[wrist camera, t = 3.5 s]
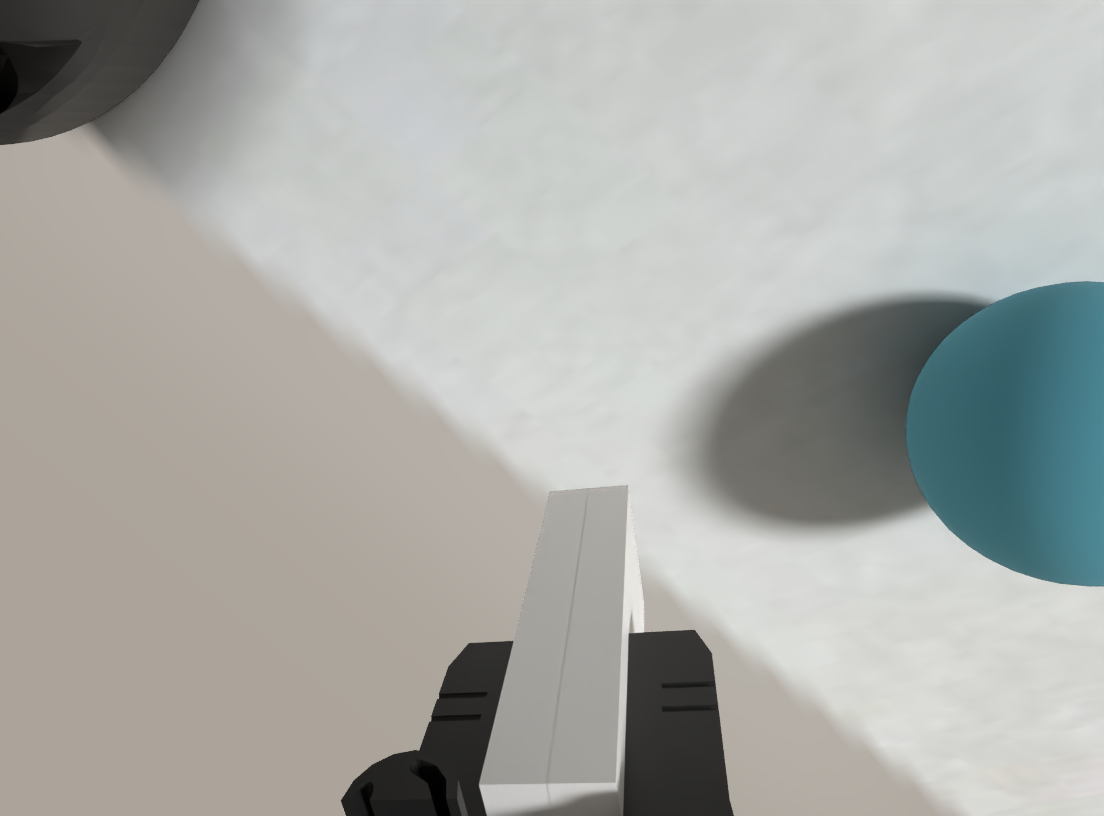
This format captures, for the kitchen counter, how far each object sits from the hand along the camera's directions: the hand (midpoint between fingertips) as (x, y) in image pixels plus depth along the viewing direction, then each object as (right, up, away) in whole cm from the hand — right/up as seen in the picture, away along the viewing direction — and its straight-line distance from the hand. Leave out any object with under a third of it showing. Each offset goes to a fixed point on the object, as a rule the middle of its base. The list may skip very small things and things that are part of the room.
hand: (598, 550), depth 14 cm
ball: (+10, +2, +1) cm, 10 cm away
